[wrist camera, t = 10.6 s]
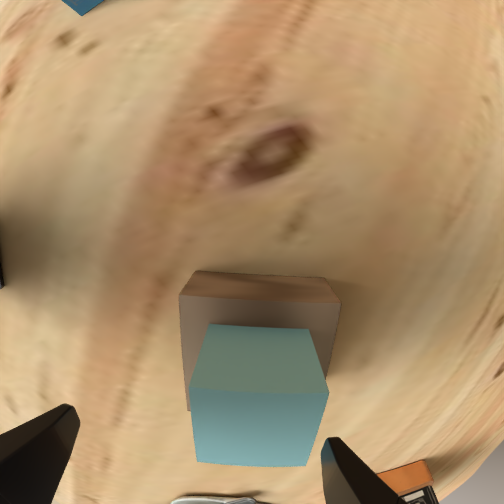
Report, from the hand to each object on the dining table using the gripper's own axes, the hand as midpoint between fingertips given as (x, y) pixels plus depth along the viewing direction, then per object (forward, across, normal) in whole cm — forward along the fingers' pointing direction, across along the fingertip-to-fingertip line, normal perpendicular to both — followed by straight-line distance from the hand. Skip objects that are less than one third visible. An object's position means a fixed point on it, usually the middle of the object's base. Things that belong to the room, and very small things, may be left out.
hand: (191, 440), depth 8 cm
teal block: (+7, -2, +1) cm, 7 cm away
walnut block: (+11, -2, +1) cm, 11 cm away
